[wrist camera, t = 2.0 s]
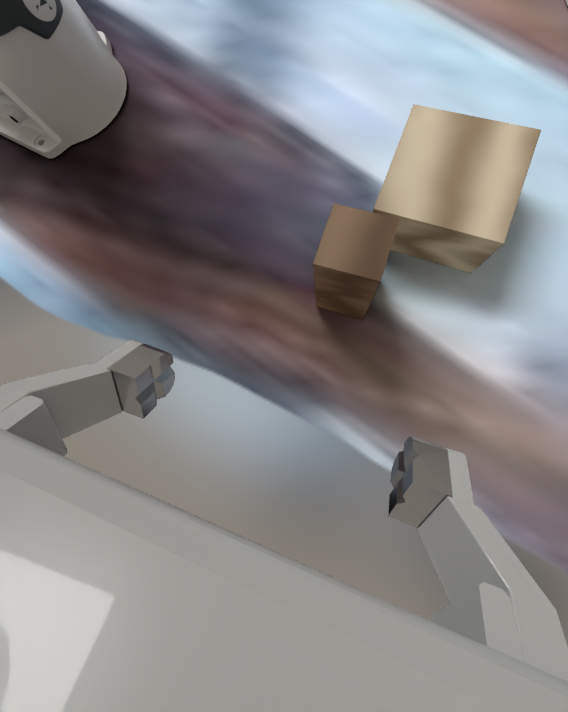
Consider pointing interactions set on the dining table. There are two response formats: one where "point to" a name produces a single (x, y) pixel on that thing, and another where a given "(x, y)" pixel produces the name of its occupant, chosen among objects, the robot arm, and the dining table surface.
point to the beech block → (455, 185)
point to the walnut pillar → (352, 259)
